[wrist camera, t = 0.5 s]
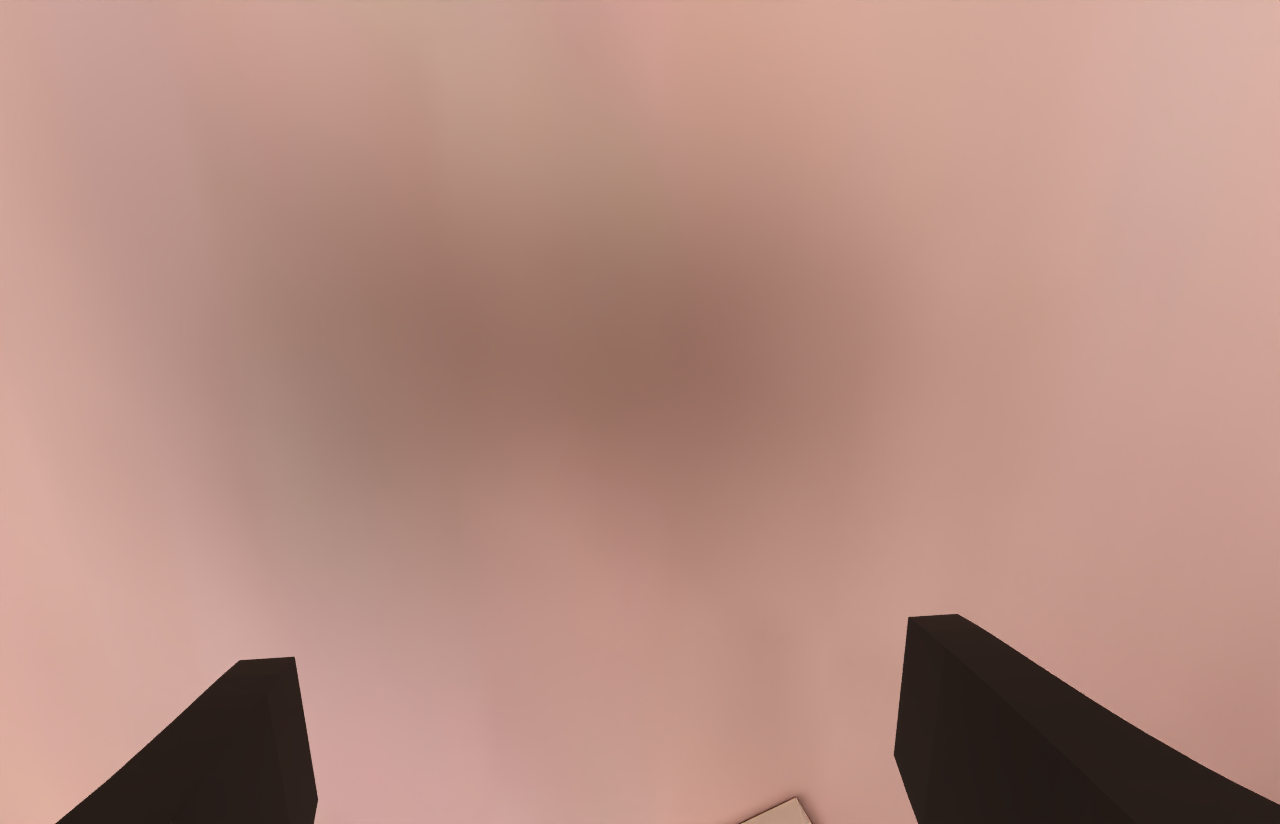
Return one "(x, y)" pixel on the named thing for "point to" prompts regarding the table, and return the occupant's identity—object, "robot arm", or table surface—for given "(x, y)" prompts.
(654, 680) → the table surface
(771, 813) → the puzzle board
